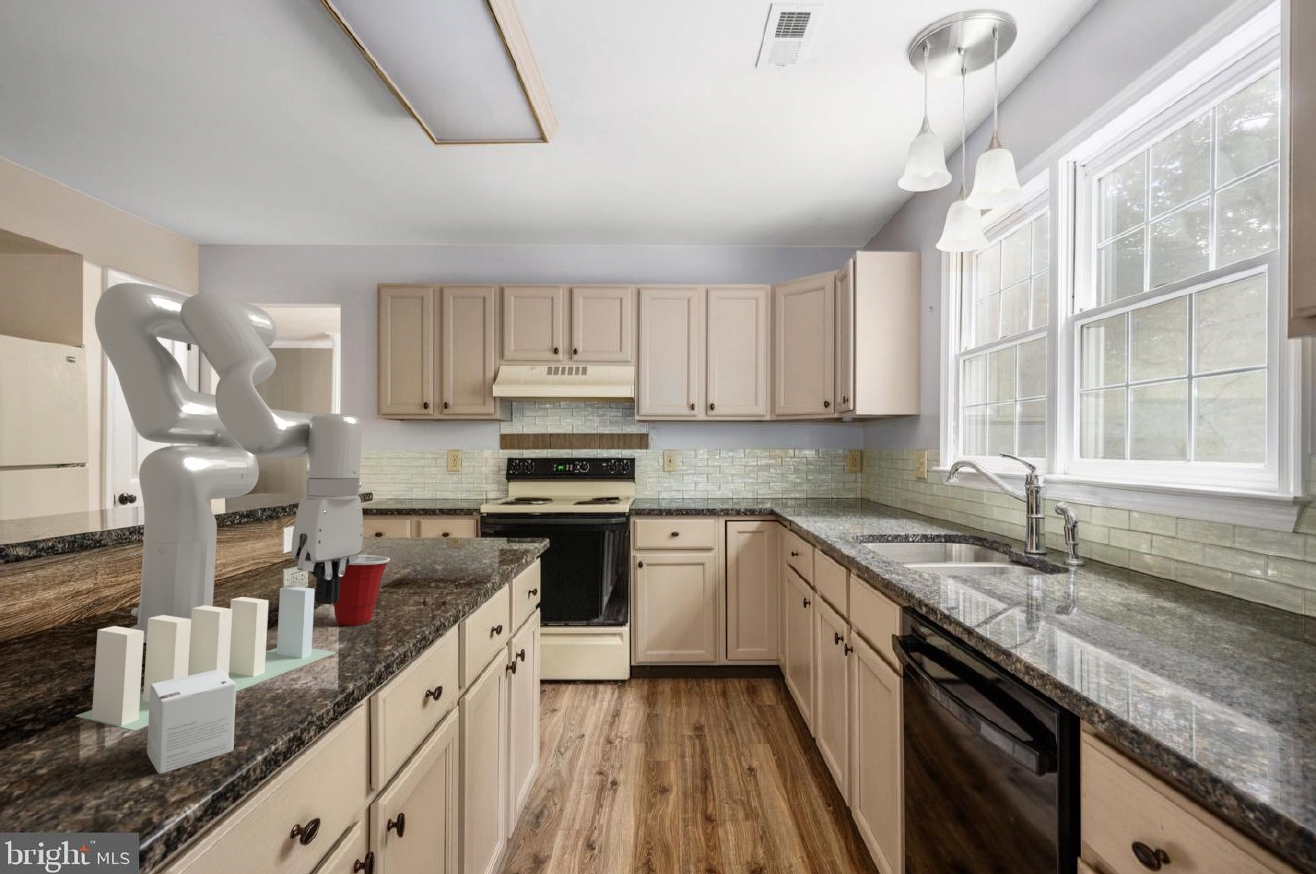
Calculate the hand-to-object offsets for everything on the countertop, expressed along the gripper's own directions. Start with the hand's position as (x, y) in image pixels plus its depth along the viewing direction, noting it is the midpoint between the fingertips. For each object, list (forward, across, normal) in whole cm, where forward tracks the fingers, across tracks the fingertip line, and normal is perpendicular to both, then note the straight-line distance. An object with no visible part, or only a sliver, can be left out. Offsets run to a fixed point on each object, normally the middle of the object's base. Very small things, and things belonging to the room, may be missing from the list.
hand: (327, 602), depth 91 cm
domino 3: (+7, +18, 0) cm, 19 cm away
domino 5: (+7, +6, 0) cm, 9 cm away
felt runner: (+7, +16, 0) cm, 17 cm away
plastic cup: (+7, -12, -6) cm, 15 cm away
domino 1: (+7, +28, 0) cm, 29 cm away
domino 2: (+7, +23, 0) cm, 24 cm away
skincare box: (+7, +30, +15) cm, 34 cm away
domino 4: (+7, +13, 0) cm, 15 cm away
